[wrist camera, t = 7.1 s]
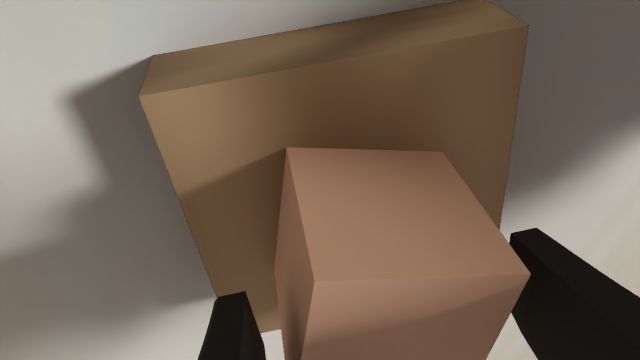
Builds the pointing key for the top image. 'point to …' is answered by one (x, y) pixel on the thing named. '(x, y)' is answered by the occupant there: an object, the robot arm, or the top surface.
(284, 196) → the terracotta block
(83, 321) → the top surface
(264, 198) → the walnut slab
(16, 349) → the top surface
